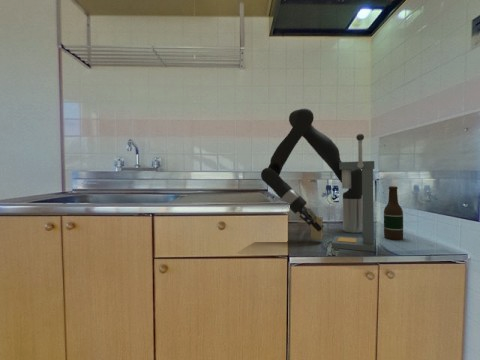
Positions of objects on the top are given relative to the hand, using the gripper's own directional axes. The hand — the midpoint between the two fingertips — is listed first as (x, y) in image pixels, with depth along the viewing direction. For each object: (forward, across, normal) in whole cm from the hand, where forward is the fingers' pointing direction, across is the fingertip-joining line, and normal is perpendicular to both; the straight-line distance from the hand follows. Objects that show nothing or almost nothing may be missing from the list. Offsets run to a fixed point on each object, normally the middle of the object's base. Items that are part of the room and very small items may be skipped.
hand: (321, 228), depth 117 cm
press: (+13, 0, -5) cm, 14 cm away
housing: (+2, 0, +4) cm, 5 cm away
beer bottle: (+25, +21, -16) cm, 36 cm away
